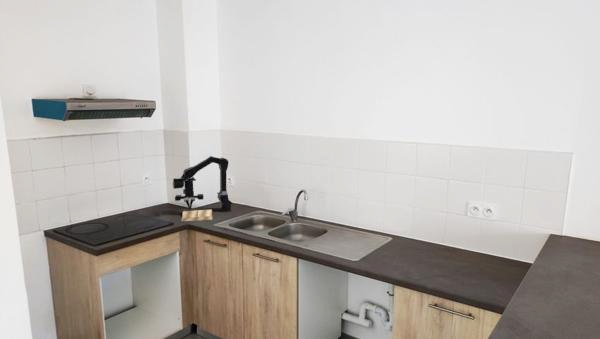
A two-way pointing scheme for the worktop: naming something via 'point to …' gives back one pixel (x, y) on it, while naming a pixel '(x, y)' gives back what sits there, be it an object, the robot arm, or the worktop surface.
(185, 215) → the plank
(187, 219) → the floor strip
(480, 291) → the worktop surface
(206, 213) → the plank
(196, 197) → the robot arm
